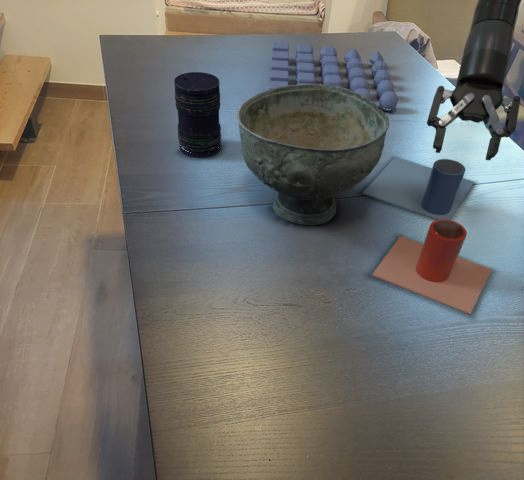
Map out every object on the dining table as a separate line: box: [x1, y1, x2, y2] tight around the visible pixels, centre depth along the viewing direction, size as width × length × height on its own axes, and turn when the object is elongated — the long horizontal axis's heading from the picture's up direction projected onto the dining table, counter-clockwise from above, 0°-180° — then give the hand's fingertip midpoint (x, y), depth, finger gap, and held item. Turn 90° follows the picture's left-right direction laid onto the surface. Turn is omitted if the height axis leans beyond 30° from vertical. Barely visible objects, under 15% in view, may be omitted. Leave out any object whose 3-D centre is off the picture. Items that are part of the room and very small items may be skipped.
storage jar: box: [173, 71, 222, 159], centre depth 114 cm, size 10×10×15 cm
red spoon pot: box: [416, 219, 468, 282], centre depth 89 cm, size 6×6×9 cm
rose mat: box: [371, 235, 493, 316], centre depth 93 cm, size 18×14×1 cm
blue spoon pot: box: [421, 158, 466, 215], centre depth 103 cm, size 6×6×9 cm
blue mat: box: [362, 156, 475, 220], centre depth 112 cm, size 19×19×1 cm
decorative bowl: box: [236, 83, 390, 226], centre depth 98 cm, size 26×26×20 cm
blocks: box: [268, 41, 399, 112], centre depth 146 cm, size 35×34×5 cm
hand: (463, 155), depth 88 cm, fingers open, 8 cm apart
